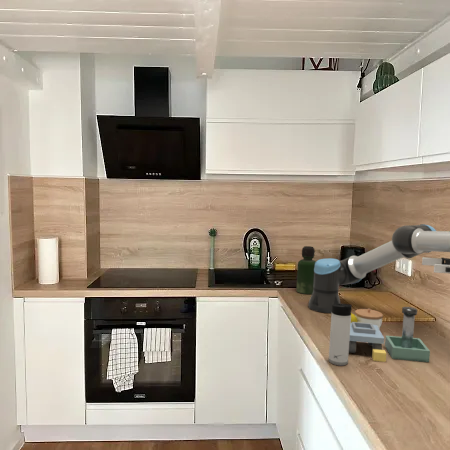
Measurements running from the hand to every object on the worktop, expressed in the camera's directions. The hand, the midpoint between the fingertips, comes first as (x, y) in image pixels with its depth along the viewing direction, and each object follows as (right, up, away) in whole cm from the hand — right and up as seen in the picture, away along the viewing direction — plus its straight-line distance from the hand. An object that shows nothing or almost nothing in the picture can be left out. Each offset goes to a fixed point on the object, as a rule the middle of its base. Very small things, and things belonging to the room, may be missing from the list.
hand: (428, 264), depth 150 cm
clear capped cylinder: (-7, -31, +1) cm, 32 cm away
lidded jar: (-14, -30, +23) cm, 40 cm away
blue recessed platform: (-22, -31, +4) cm, 38 cm away
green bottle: (-27, -23, +83) cm, 90 cm away
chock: (-19, -32, -5) cm, 38 cm away
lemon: (-21, -29, +21) cm, 42 cm away
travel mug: (-34, -32, -8) cm, 47 cm away
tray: (-7, -32, +1) cm, 33 cm away
